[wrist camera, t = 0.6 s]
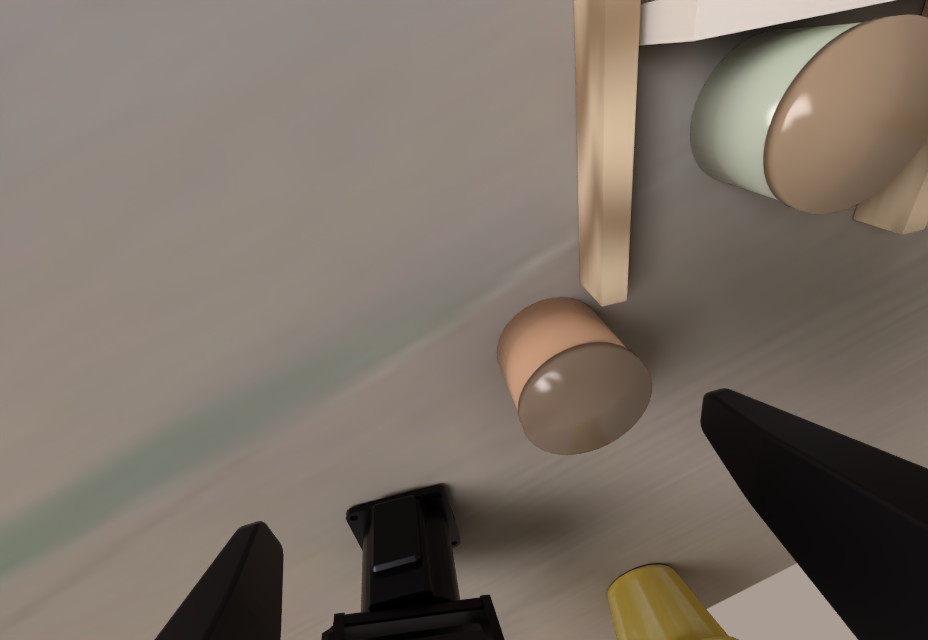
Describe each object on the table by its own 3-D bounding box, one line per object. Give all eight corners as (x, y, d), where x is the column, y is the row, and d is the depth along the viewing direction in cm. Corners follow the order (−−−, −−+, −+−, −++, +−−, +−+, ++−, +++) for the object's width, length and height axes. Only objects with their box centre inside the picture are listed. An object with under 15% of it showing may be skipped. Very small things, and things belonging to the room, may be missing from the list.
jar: (602, 374, 25) (647, 436, 21) (502, 399, 25) (527, 467, 21) (603, 283, 22) (657, 335, 18) (487, 310, 22) (514, 370, 17)
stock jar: (800, 168, 21) (909, 195, 16) (680, 195, 20) (760, 229, 16) (839, 13, 17) (987, -3, 13) (696, 42, 17) (802, 35, 13)
